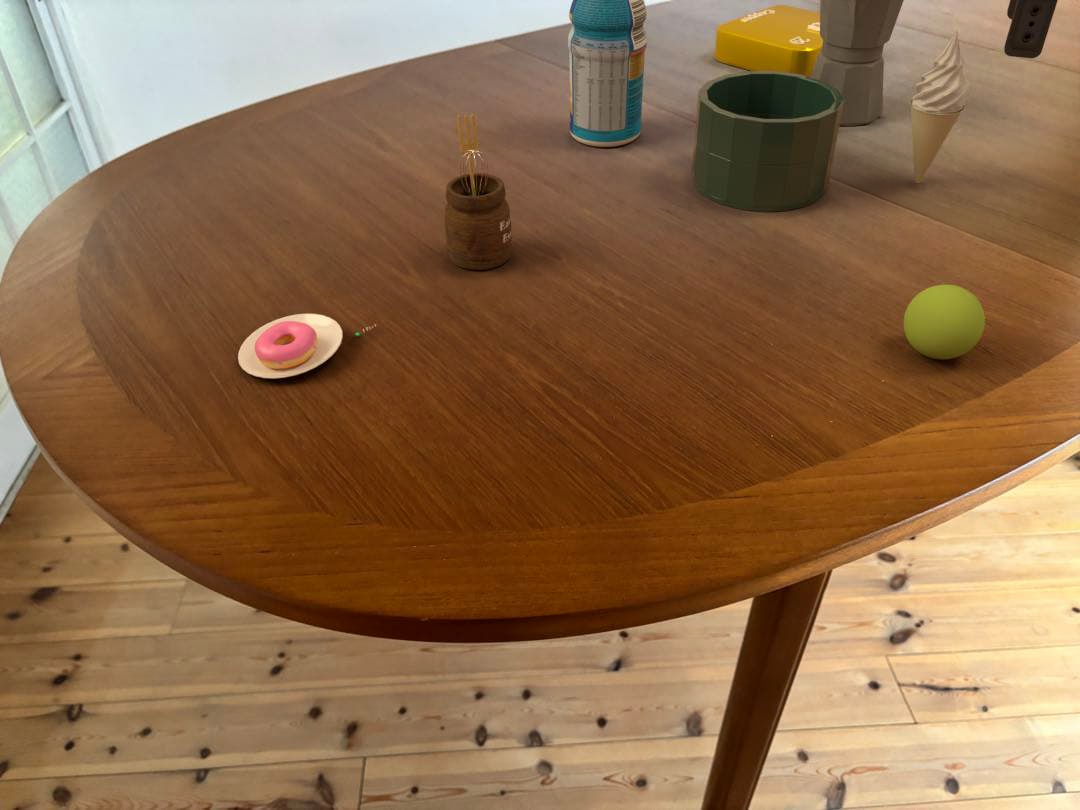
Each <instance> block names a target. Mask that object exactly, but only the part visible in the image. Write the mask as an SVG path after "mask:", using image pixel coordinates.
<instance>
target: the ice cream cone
mask: <svg viewBox="0 0 1080 810" xmlns="http://www.w3.org/2000/svg"><path fill="white" fill-rule="evenodd" d="M960 47H961V46H960V42H959V32H958V30H956V31H955V32H954V34H953V36H952V37H951V39H950V40H949V41H948V43H947V44H946V45H945V47H944V48H943V50H942V51H941V52H940V54H938V56H937V57H936V58H935V60H934V61H933V67H932V69H931V70H930V71H928V72H926V73H923V74H922V75H921V76H920V78H921V82H918V83H916V84H915V85H914V86H915V87H914V88H915V90H916V91H917V94H915V95H914V96H912V98H911V99H910V100H909V105H910V113H911V114H910V115H911V116H910V117H911V134H912V136H911V137H912V151H913V153H912V154H913V169H914V171H913V172H914V183H915V184H921V182H922V181H923V179H924V177H925V175H926V174H927V172H928V170H929V169H930V167H931V165H932V163H933V162H934V160H935V158H936V157H937V155H938V153H939V152H940V149H941V148H942V146H943V144H944V143H945V141H946V139H947V137H948V136H949V134H950V133H951V131H952V130H953V127H954V126H955V124H956V121H957V120H958V118H959V117H960V116H961V113H962V112H964V111H965V108H966V106H965V103H967V102H968V97H969V96H970V91H971V86H970V82H969V81H968V79H967V77H966V75H965V73H964V70H963V68H964V65H965V60H964V58H963V57H962V53H961V48H960Z"/></svg>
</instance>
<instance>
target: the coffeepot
mask: <svg viewBox="0 0 1080 810" xmlns="http://www.w3.org/2000/svg"><path fill="white" fill-rule="evenodd" d="M904 1H905V0H820V1H819V3H820V4H819V13H820V36H821V38H822V39H823V44H822V50H821V53H820V54H819V55H818V56H817V59H816V62H815V65H814V68H813V71H812V74H811V78H814V79H818V80H821V81H824V82H826V83H827V84H829V85H831V86H832V87H834V88H836V89H837V90H839V92H840V94H841V96H842V98H843V100H844V103H843V109H842V114H841V120H840V125H839V127H858V126H863V125H867V124H870V123H873V122H875V121H876V120H878V118H879V116H881V115H883V102H884V101H883V99H884V97H883V96H884V95H883V94H884V71H885V70H884V69H885V61H884V58H883V51H884V47H885V44H887V43H888V42H889V41H890V40H891V37H892V34H893V32H894V29H895V25H896V23H897V20H898V17H899V16H900V15H899V14H900V12H901V9H902V6H903V3H904Z"/></svg>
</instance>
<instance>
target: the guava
mask: <svg viewBox="0 0 1080 810" xmlns="http://www.w3.org/2000/svg"><path fill="white" fill-rule="evenodd" d="M985 326H986V317H985V311H984V308H983V306H982V304H981V303H980V301H979V300H978V298H977V297H976V296H975V294H973V293H972V292H970V291H969V290H967V289H966V288H964V287H961V286H958V285H955V284H938V285H934V286H930V287H927V288H926V289H924V290H922V291H920V292H919V293H918V294H916V295H915V296H914V297H913V298H912V300H910V302H909V304H908V305H907V307H906V309H905V312H904V316H903V332H904V335H905V338H906V339H907V341H908V343H909V344H910V346H911V347H912V348H913V349H914V350H916V351H917V352H918V353H919V354H921V355H923V356H925V357H927V358H930V359H935V360H951V359H955V358H958V357H961V356H964V355H965V354H966V353H968V352H969V351H971V350H972V349H973V348H974V347H975V346H976V345H977V344H978V343H979V341H980V339H981V338H982V335H983V333H984V330H985Z"/></svg>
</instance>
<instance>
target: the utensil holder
mask: <svg viewBox="0 0 1080 810" xmlns="http://www.w3.org/2000/svg"><path fill="white" fill-rule="evenodd" d="M463 119H464V129H465V140H466V141H464V135H463V127H462V117H461V116H460V115H457V117H456V121H457V130H458V131H457V132H458V140H459V149H460V152H461V154H463V155H462V157H461V159H460V162H459V167H460V168H459V170H460V173H459V174H460V175H458V176H457V177H454V178H452V179H451V180H449V182H448V183H447V185H446V189H445V199H446V202H447V203H446V205H445V207H444V232H445V239H446V248H447V252H448V256H449V259H450V261H451V262H452V263H453V264H454V265H456V266H457V267H459V268H461V269H464V270H470V271H487V270H492V269H494V268H498V267H500V266H502V265H503V264H505V263H506V262H507V261H508V260H509V259H510V257H511V255H512V252H513V251H512V250H513V234H512V217H511V209H510V205H509V203H508V201H507V200H506V196H507V192H506V187H505V183H504V181H503V180H502V179H501V178H500V177H498V176H496V175H493V174H491V173H490V174H489V173H486V172H484V171H483V170H484V169H486V168H487V169H489V163H488V162H489V161H488V158H487V156H486V154H484V152H482V151H481V150H480V149H479V144H478V134H477V125H476V116H475V114H471V115H470V121H471V128H472V138H473V140H472V141H471V136H470V126H469V125H470V124H469V116H468V115H467V114H465V115H464V116H463ZM479 153H480V154H479ZM475 154H476V155H478V156H479V158H480V159H481V172H475V171H474V168H475V170H477V164H476V162H474V163H473V159H474V160H476V157H475ZM465 156H467V160H466V163H465V164H462V161H463V159H464V157H465ZM483 156H484V157H485V159H486V165H485V162H484V160H483ZM467 164H468V167H469V168H468V169H469V173H465V168H464V165H465V166H467ZM473 164H474V165H473ZM474 166H475V167H474ZM486 166H487V167H486ZM462 169H463V170H462ZM462 171H463V174H462ZM483 172H484V173H483Z"/></svg>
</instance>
